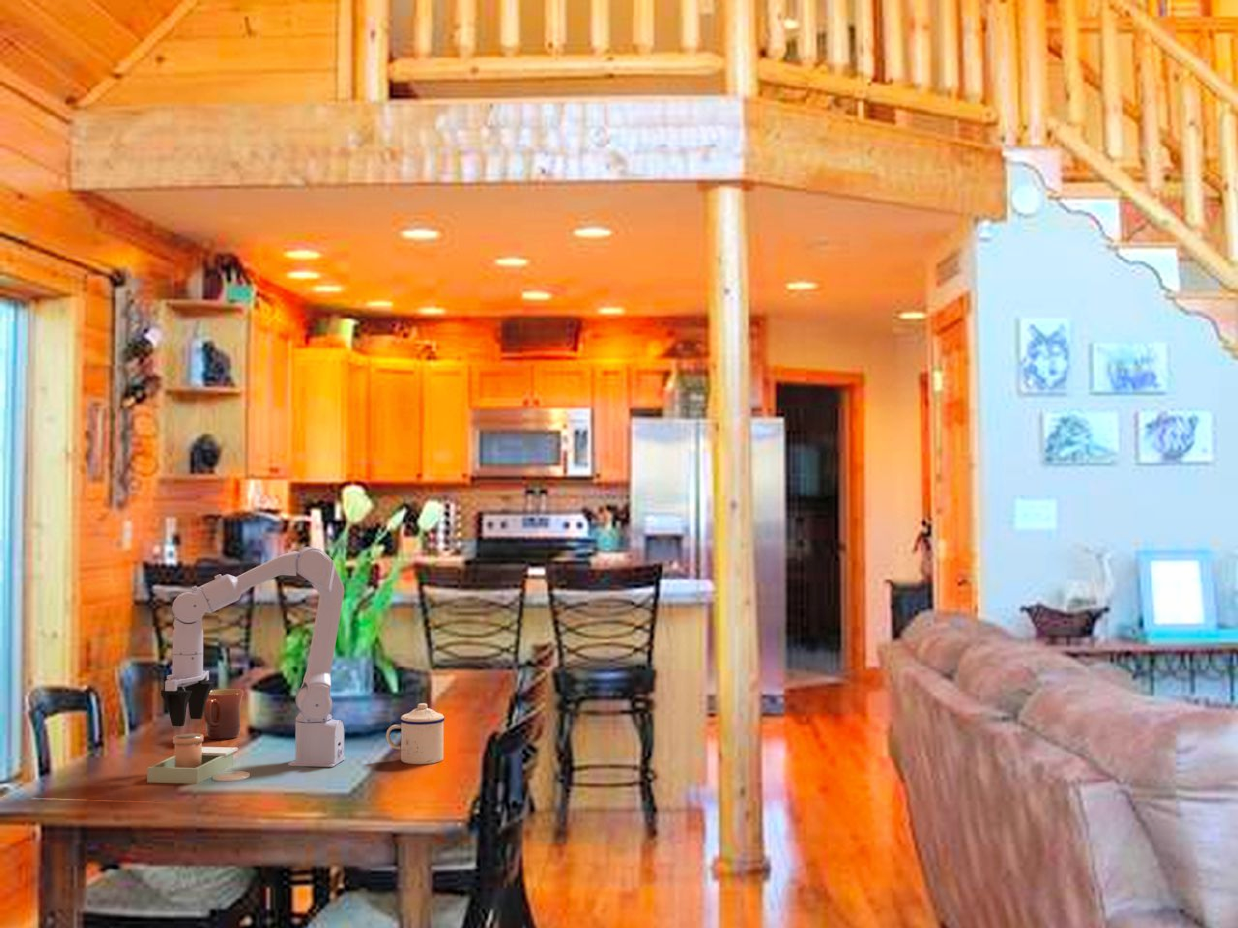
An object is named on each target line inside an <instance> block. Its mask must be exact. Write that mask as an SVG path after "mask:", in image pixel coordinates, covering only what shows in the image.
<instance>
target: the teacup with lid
mask: <svg viewBox="0 0 1238 928" xmlns="http://www.w3.org/2000/svg"><path fill="white" fill-rule="evenodd" d="M445 719H446V718H445V716H444V714H443V713H440V712H436V711H435V710H433V709H432V708H430V707H429V708H428V703H426V702H423V703H422V702H421V703H418V704H417V708H414V709H412V710H411V711H410V712H408V713H405V714H403V715H401V717H400V719H399V721H400V722H401V723H400V724H393V725H391V726H390V727H389V728H388V729H387V730H386V736H385V737H386V738H385V739H386V740H387V741H386V742H387V743H388V745H389V746H390V747H391V748H393V749H395V750H400V752H401V753H400V759H401V762H403V763H404V764H409V765H431V764H436V763H440V762H441V761H443V760H444V721H445ZM396 729H401V730H400V731H401V735H400V736H401V743H400V745H397V744H395V743H394V742H393V741H392V739H391V732H392V730H396Z"/></svg>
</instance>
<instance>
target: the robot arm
mask: <svg viewBox="0 0 1238 928" xmlns="http://www.w3.org/2000/svg"><path fill="white" fill-rule="evenodd" d="M297 574H298V575H299V576H301V577H303V578H304V579H305V580H307V581H308V582H310V584H311V586H312V587H313V588H314V589H315V590H316V591H317V593H318V596H319V598H318V603H317V608H316V613H315V614H316V615H315V620H314V628H313V632H312V639H311V643H310V649H309V650H310V651H309V655H308V656H309V657H308V661H307V668H306V671H305V674H304V677H303V681H302V685H301V687H300V688H299V689H298V690H297V692H296V695H295V705H296V707H297V709H298V710H299V712H298V715H297V716H296V717H295V735H294V736H295V737H294V738H295V743H294V744H295V745H294V746H295V754H294V755H295V758H294V760H292V761H290V762H288V763H287V766H291V767H316V768H317V767H326V768H327V767H329V768H333V767H335V766H337V765H338V764H339V763H341V762H342V761H344V760H346V757H345V725H344V723H343V720H339V719H337V720H336V719H334V718H332V717H333V716H332V714H331V712H332V709H333V699H332V696H331V687H332V680H331V673H332V667H333V662H334V654H335V648H336V643H337V636H338V631H339V625H340V619H341V615H342V614H341V613H342V609H343V608H342V607H343V601H344V596H345V586H344V584H343V582H342V579H341V577H340V574H339V572H338V571H337V568H336V566H335V561H334V560H333V559H332V558H331V557H330V556H329V555H328V554H327V553H326V552H324V551H323V550H322V549H319V548H315V547H313V546H304V547H301V548H299V549H298V550H293V551H289V552H287V553H284V554H281V555H278V556H276V557H274V558H272V559H270V560H268V561H265V562H264V563H262V564H260V565H257V566H256V567H254V568H251V569H249V570H248V571H246V572H244V573H240V575H237V576H234V575H231V574H228V573H227V574H224V575H222V574H220V573H219V574H217V575H215V576H214V579H213V580H211V581H208V582H207V583H204V584H202V585H200V586H197V585H194V586H192V587H191V590H192V592H190V591H189V592H187V591H186V592H182V593H180V594H179V595H178V596H177V597H175V599H174V601H173V603H172V606H171V610H172V613H173V615H174V616H175V617H174V621H173V622H172V623H173V631H172V674H169V675H166V680H165V682H164V687H165V688H163V689H161V690H160V696H161V697H162V699H163V701H164V703H165V704H166V707H167V710H168V714H169V717H170V721H171V722H170V723H171V726H172V727H183V726H185V723H186V716H187V709H188V711H189V712H188V713H189V718H190V719H191V720H202V719H203V716H204V708H205V704H206V700H207V698H208V695H209V693H210V691H211V690H213V687H214V681H209V680H210V670H204V630H203V617H204V615H205V613H206V614H207V613H208V614H212V613H214V612H216V611H217V610H218V611H219V610H221V609H222V608H224V607H226V606H228V605H231V604H233V603H235V602H237V601H239V600H240V599H241V596H242V594H243V592H244V591H246V590H248V589H251V588H253V587H255V586H258V585H261V584H262V583H265V582H267V581H270V580H272V579H274V578H276V577H279V576H292V577H297ZM183 688H184V689H183ZM187 707H188V708H187Z"/></svg>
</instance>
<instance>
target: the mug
mask: <svg viewBox="0 0 1238 928" xmlns="http://www.w3.org/2000/svg"><path fill="white" fill-rule="evenodd" d="M244 693H245V691H244V690H242V689H236V688H235V689H234V688H227V689H226V688H225V689H224V688H222V689H211V691H210V693H209V695H208V698H207V700H206V704H205V708H204V712H203V716H204V721H205V723H206V724H205V729H206V734H207V735H206V736H207V737H208V739H211V740H212V741H213V740H214V741H215V740H216V741H226V739H227V740H232V738H233V739H236V738H238V736H239V735H240V733H241V727H242V725H241V704H242V699H243V696H244ZM235 737H236V738H235Z"/></svg>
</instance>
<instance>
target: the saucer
mask: <svg viewBox="0 0 1238 928" xmlns="http://www.w3.org/2000/svg"><path fill="white" fill-rule="evenodd" d="M250 776H251V774H250V772H248V771H242V770H231V771H221V772H219V773H217V774H214V775H213V776H211V779H212V780H213V781H217V782H219V781H220V782H235V781H241V780H247V779H248V778H250Z"/></svg>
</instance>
